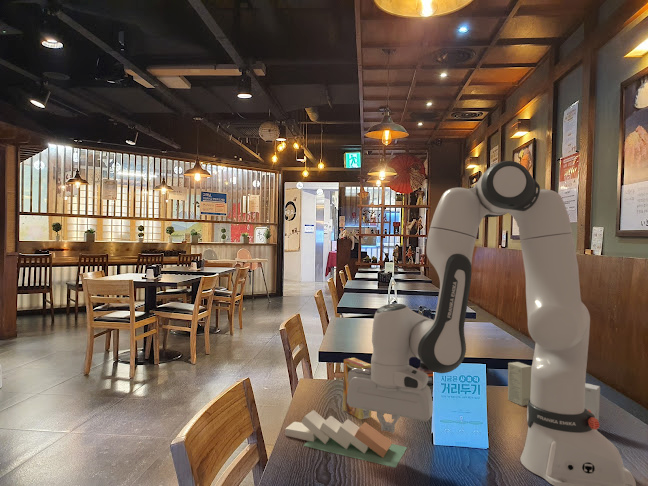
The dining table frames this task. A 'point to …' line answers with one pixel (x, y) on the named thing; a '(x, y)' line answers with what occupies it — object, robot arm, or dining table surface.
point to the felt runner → (389, 459)
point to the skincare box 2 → (592, 399)
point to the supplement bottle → (428, 372)
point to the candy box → (348, 366)
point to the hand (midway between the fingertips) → (387, 431)
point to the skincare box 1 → (519, 383)
